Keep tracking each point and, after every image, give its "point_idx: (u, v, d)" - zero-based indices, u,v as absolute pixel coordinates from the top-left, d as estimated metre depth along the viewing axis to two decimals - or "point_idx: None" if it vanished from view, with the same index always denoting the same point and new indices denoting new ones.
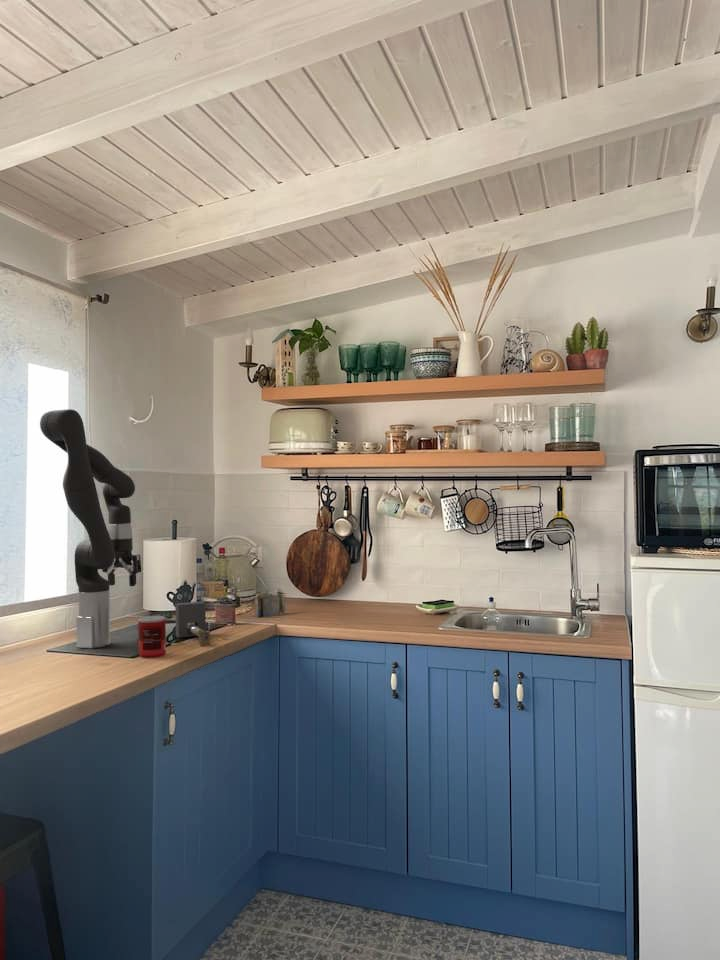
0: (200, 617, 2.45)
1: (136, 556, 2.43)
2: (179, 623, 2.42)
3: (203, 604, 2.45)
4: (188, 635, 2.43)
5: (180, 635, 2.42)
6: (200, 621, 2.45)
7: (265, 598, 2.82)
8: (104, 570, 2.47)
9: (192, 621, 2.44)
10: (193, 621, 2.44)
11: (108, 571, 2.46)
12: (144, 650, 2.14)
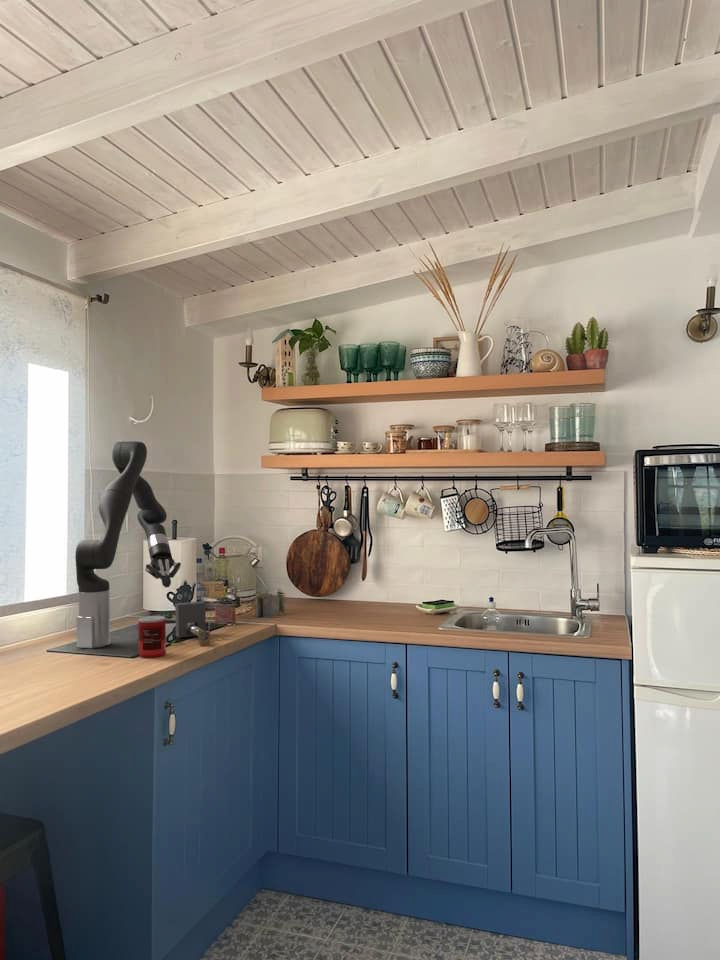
0: (200, 617, 2.45)
1: None
2: (179, 623, 2.42)
3: (203, 604, 2.45)
4: (188, 635, 2.43)
5: (180, 635, 2.42)
6: (200, 621, 2.45)
7: (265, 598, 2.82)
8: (158, 572, 2.62)
9: (192, 621, 2.44)
10: (193, 621, 2.44)
11: (163, 573, 2.62)
12: (144, 650, 2.14)
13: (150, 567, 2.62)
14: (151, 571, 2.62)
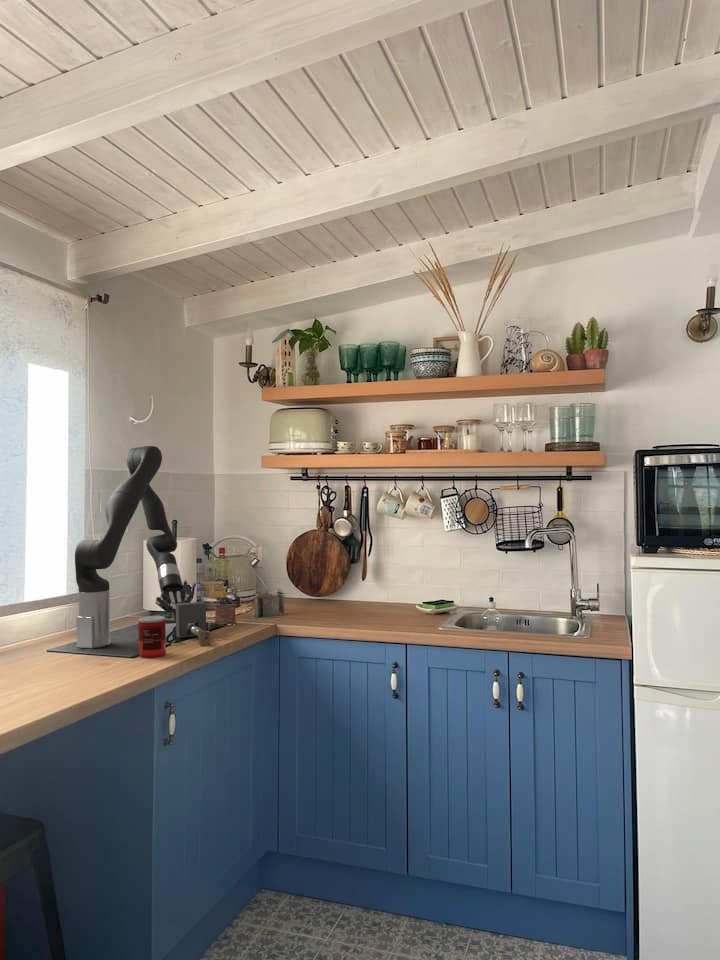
0: (200, 617, 2.44)
1: (192, 597, 2.53)
2: (179, 623, 2.41)
3: (203, 604, 2.45)
4: (188, 635, 2.42)
5: (180, 635, 2.41)
6: (200, 621, 2.44)
7: (265, 598, 2.82)
8: (169, 606, 2.47)
9: (192, 621, 2.43)
10: (193, 621, 2.43)
11: (174, 606, 2.47)
12: (144, 650, 2.14)
13: (161, 600, 2.48)
14: (162, 604, 2.47)
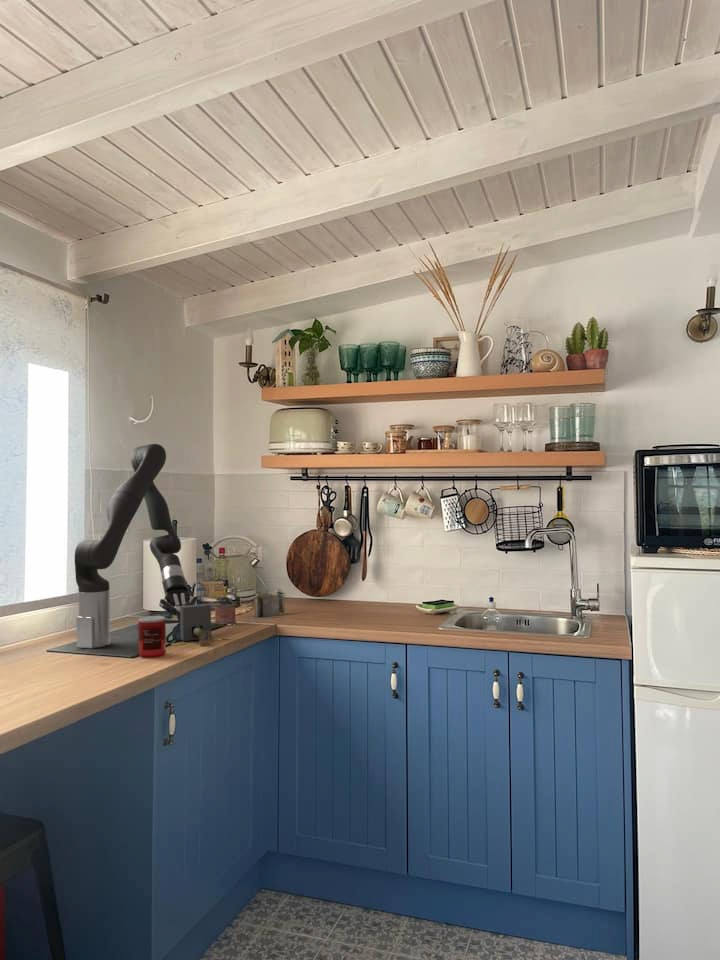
0: (205, 620, 2.39)
1: (196, 599, 2.48)
2: (184, 626, 2.36)
3: (208, 607, 2.40)
4: (193, 638, 2.37)
5: (185, 638, 2.36)
6: (205, 624, 2.39)
7: (265, 598, 2.82)
8: (173, 608, 2.42)
9: (197, 624, 2.38)
10: (198, 624, 2.38)
11: (178, 608, 2.42)
12: (144, 650, 2.14)
13: (165, 602, 2.42)
14: (166, 607, 2.42)
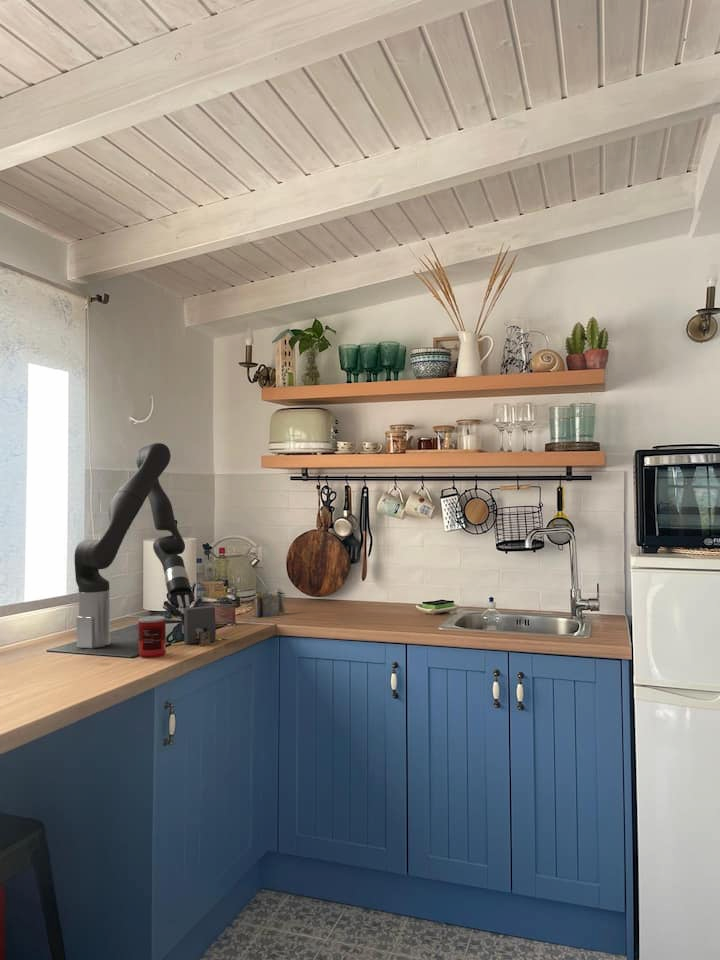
0: (210, 622, 2.35)
1: None
2: (188, 629, 2.31)
3: (213, 609, 2.35)
4: (197, 641, 2.33)
5: (189, 641, 2.32)
6: (210, 626, 2.35)
7: (265, 598, 2.82)
8: (177, 610, 2.37)
9: (201, 626, 2.33)
10: (202, 626, 2.34)
11: (182, 611, 2.38)
12: (144, 650, 2.14)
13: (168, 604, 2.38)
14: (169, 609, 2.38)
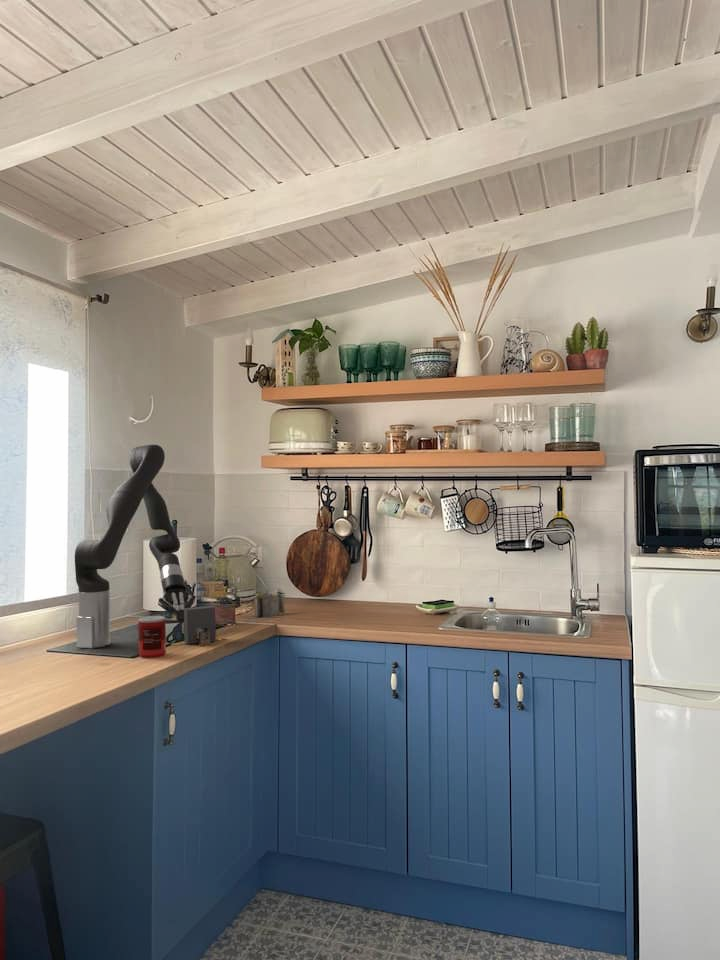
0: (210, 622, 2.35)
1: None
2: (188, 629, 2.31)
3: (213, 609, 2.35)
4: (197, 641, 2.33)
5: (189, 641, 2.31)
6: (210, 626, 2.35)
7: (264, 598, 2.82)
8: (172, 607, 2.44)
9: (202, 626, 2.33)
10: (203, 626, 2.33)
11: (176, 607, 2.45)
12: (144, 650, 2.14)
13: (163, 601, 2.45)
14: (164, 605, 2.45)
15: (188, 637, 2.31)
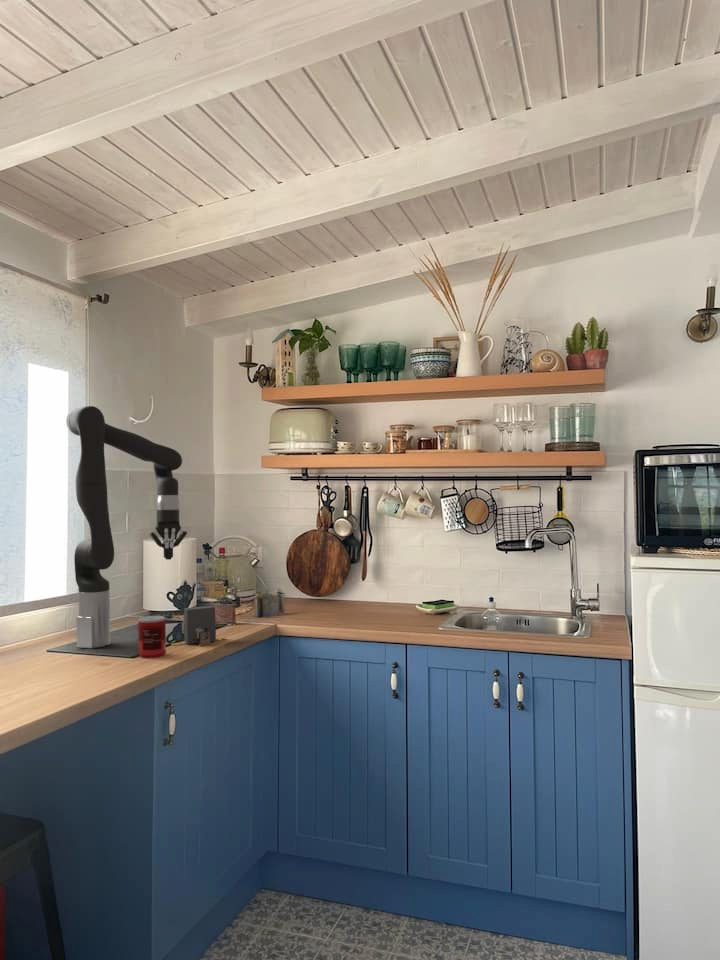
0: (210, 622, 2.35)
1: None
2: (188, 629, 2.31)
3: (213, 609, 2.35)
4: (197, 641, 2.33)
5: (189, 641, 2.31)
6: (210, 626, 2.35)
7: (265, 598, 2.82)
8: (162, 544, 2.50)
9: (202, 626, 2.33)
10: (203, 626, 2.33)
11: (166, 545, 2.51)
12: (144, 650, 2.14)
13: (155, 537, 2.49)
14: (155, 540, 2.49)
15: (188, 637, 2.31)
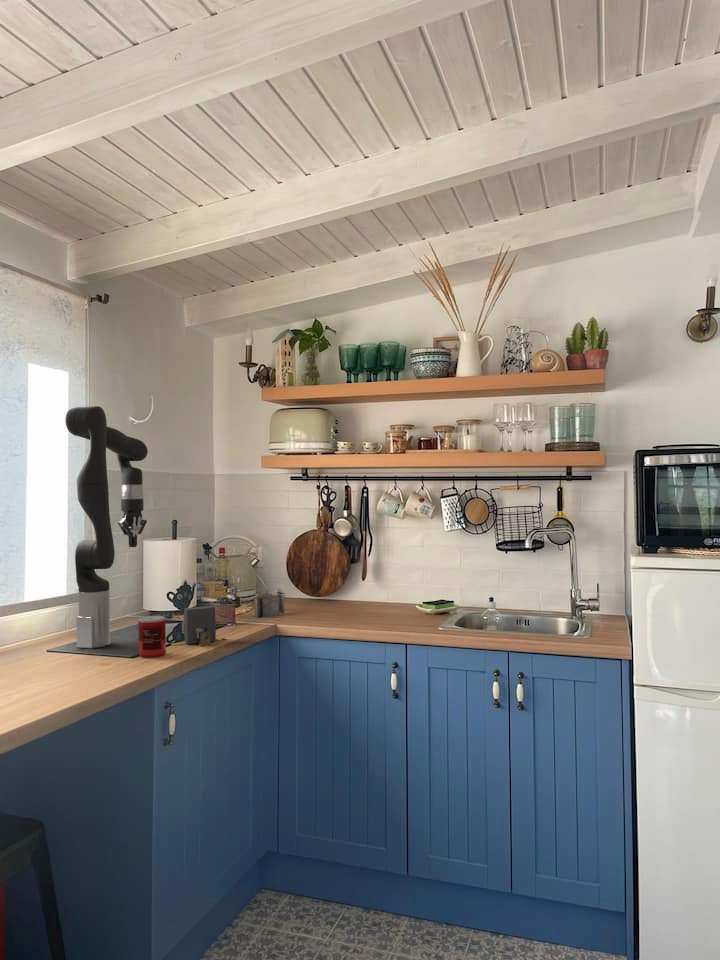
0: (210, 622, 2.35)
1: None
2: (188, 629, 2.31)
3: (213, 609, 2.35)
4: (197, 641, 2.33)
5: (189, 641, 2.31)
6: (210, 626, 2.35)
7: (265, 598, 2.82)
8: (130, 532, 2.58)
9: (202, 626, 2.33)
10: (203, 626, 2.33)
11: (133, 533, 2.59)
12: (144, 650, 2.14)
13: (126, 525, 2.55)
14: (125, 529, 2.56)
15: (188, 637, 2.31)
